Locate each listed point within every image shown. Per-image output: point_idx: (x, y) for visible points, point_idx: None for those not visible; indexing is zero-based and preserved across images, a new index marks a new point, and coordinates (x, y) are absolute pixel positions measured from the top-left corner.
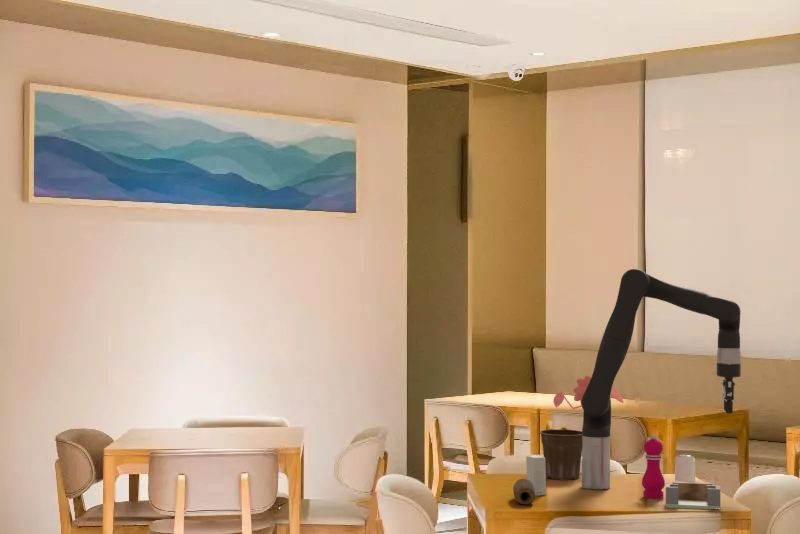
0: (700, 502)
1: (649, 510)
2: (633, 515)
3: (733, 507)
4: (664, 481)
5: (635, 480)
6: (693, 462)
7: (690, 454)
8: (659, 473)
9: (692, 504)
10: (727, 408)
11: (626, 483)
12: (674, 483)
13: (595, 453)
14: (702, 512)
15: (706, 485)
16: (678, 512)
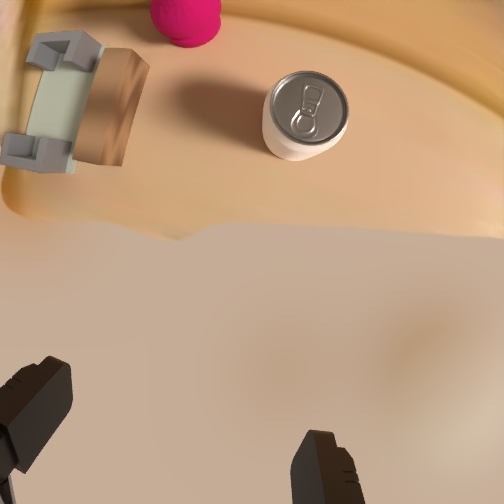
0: (61, 123)
1: (37, 21)
2: (10, 5)
3: (49, 201)
4: (167, 31)
5: (470, 73)
6: (274, 138)
7: (330, 138)
8: (154, 7)
9: (42, 102)
10: (12, 379)
11: (423, 29)
12: (103, 53)
13: None
14: (7, 120)
15: (77, 142)
16: (12, 73)
